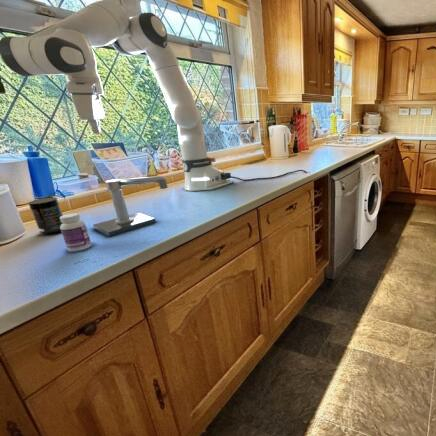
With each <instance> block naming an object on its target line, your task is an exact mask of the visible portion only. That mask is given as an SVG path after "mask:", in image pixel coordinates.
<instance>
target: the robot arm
mask: <svg viewBox="0 0 436 436" xmlns="http://www.w3.org/2000/svg"><path fill="white" fill-rule="evenodd" d="M108 45H112V47H113V48H114V49H115V50H116V52H118V53H120V55H122V56H124V57H132V56H136V55H139V54H141V53H145V54H146V55H147V58H148V61H149V65H150V67H151V70H152V71H153V74H154V76H155V78H156V80H157V82H158V85H159V88H160V90H161V91H162V92H161V93H162V94H163V97H164V99H165V102H166V105H167V107H168V110H169V112H170V114H171V118H172V120H173V121H174V123H175V124H176V126H177V135H178V136H177V137H178V144H179V148H180V149H179V150H180V154H181V164H182V170H183V172H184V190H185V191H189V192H190V191H191V192H197V191H211V190H215V189H218V188H222V187H224V186H227V185H229V184H232V180H231V179H236V180H239V181H241V182H242V181H243V182H250V181H257V180H272V179H277V178H281V177H284V176H286V175H289V174H293V173H297V172H298V173H299V172H304V173H306V174H307V173H308V171H306V170H304V169H297V170H294V171H289V172H286V173H283V174H280V175H276V176H270V177H269V176H268V177H256V178H248V179H245V178H240V177H237V176H232V175H231V172H225V171H224V170H222V169H221V168H219V167H217V166H215V165H214V164H213V163H215V162H216V158H215V157H209V156H208V152H207V147H206V139H205V133H204V127H203V126H204V125H203V121H202V113H201V111H200V109H199V108H198V106H197V104H196V101H195V98H194V96H193V94H192V90H191V88H190V85H189V83H188V80H187V78H186V75H185V73H184V72H183V69H182V67H181V64H180V62H179V60H178V57H177V56H176V54H175V52H174V50H173V48H172V47H171V44H169V42H168V31H167V27H166V26H165V23H164V22H163V21H162V20H161V18H160V17H159V16H158V15H156V14H155V13H153V12H141V13H140V14H138V15H134V16H130V17H129V14H128V12H127V10H126V9H125V8H124V6H122V5H121V3H119V2H117V1H115V0H98V1H95V2H91V3H89V4H88V5H86V6H84V7H82V8H80V9H78V10H77V11H75V12H74V13H73V14H71V15H68V16H67V17H65V18H63V19H62V20H59V21H58V22H56V23H54V24H51V25H49V26H47V27H45V28H42V29H40V30H38V31H36V32H33V33H31V34H28V35H26V36H11V35H10V36H7V35H6V36H3V37H1V38H0V59H1V61H2V62H3V63H4V65H5V66H6V67H8V68H9V69H10V70H11V71H13V72H14V73H15V74H17V75H18V76H19V75H20V76H21V77H35V76H57V75H59V76H61V75H64V78H65V81H66V87H65V88H66V91H67V93H68V94H69V95H70V97H71V100H72V103H73V106H74V110H75V111H76V114H77V117H78V118H79V119H80V120H81V121H88V123H89V125H90V128H91V130H92V133H93V134H94V135H96V134H101V133H102V130H101V121H100V119H105V118H106V115H105V111H104V107H103V103H102V99H101V96H103V95H105V92H104V88H103V85H102V81H101V77H100V75H99V74H98V71H97V70H98V68H97V67H98V63H97V60H96V56H95V55H96V54H95V52H94V50H93V48H98V47H104V46H108ZM310 210H312V212H311V229H312V232H314V212H313V211H314V210H313V200H311V201H310Z"/></svg>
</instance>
